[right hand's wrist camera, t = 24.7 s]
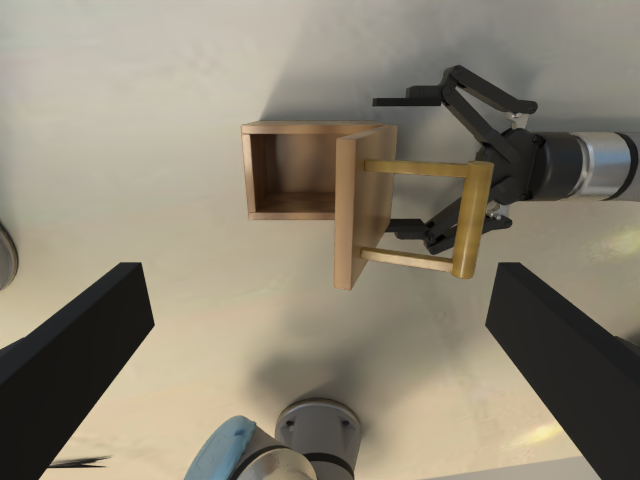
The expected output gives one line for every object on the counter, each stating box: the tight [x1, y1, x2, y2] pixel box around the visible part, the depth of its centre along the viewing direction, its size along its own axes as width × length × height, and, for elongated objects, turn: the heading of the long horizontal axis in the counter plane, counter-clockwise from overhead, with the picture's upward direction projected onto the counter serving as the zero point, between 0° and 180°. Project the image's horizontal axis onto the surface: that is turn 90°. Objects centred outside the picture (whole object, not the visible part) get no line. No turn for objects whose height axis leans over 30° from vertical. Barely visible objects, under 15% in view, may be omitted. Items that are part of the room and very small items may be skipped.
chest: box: [241, 121, 388, 220], centre depth 39 cm, size 14×10×10 cm
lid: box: [334, 125, 494, 290], centre depth 26 cm, size 15×10×9 cm
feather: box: [48, 457, 112, 468], centre depth 64 cm, size 2×28×2 cm
